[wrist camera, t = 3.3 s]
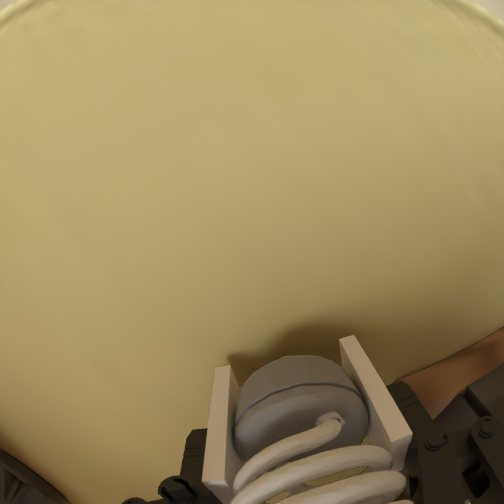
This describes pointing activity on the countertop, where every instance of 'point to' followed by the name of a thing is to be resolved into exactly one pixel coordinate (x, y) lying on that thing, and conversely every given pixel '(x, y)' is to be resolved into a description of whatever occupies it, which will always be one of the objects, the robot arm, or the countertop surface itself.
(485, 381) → the socket
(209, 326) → the countertop surface
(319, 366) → the light bulb
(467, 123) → the countertop surface
